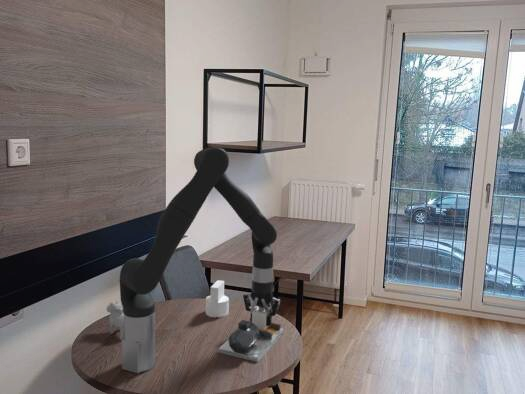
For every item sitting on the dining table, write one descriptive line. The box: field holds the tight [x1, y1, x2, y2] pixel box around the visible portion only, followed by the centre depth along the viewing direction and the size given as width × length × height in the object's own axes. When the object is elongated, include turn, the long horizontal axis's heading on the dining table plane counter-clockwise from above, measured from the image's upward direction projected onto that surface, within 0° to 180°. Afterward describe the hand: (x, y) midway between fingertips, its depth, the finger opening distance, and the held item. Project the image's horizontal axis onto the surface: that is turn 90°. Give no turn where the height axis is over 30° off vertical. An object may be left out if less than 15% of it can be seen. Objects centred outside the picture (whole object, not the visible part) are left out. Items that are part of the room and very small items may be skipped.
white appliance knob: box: [205, 279, 230, 318], centre depth 188 cm, size 9×9×12 cm
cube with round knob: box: [252, 306, 268, 330], centre depth 171 cm, size 5×5×8 cm
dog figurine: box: [106, 301, 124, 341], centre depth 168 cm, size 5×13×11 cm, turn 48°
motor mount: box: [218, 319, 285, 363], centre depth 164 cm, size 24×14×10 cm, turn 157°
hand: (260, 323), depth 171 cm, fingers closed on cube with round knob, 5 cm apart
